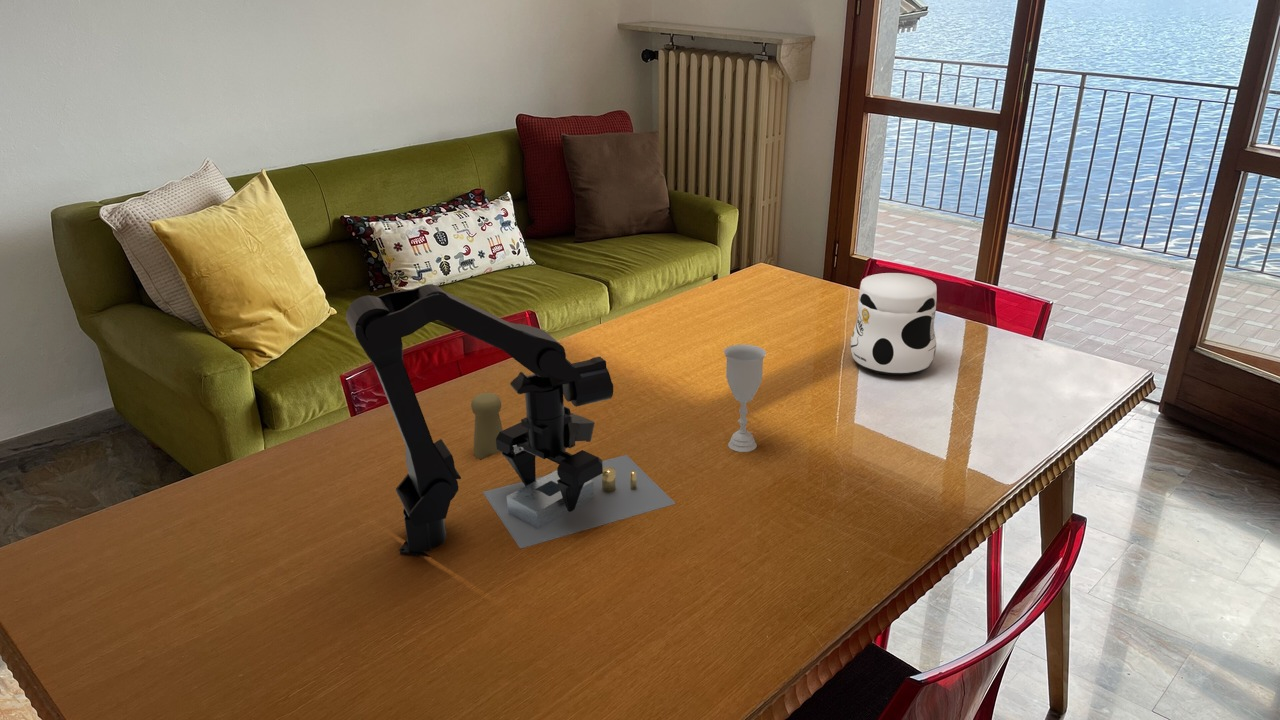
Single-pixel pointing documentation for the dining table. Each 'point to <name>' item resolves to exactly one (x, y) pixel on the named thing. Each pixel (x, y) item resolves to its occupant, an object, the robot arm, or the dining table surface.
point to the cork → (486, 424)
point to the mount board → (586, 505)
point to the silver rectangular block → (543, 500)
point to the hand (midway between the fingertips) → (551, 500)
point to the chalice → (743, 387)
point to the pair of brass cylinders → (609, 480)
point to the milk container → (895, 324)
